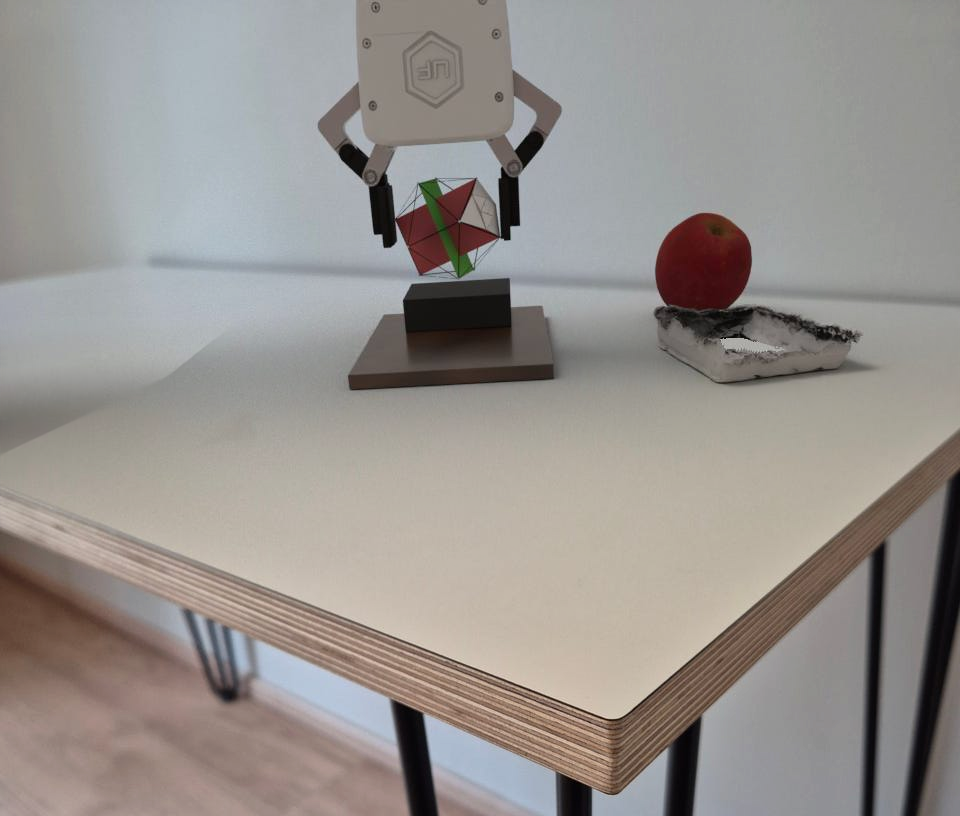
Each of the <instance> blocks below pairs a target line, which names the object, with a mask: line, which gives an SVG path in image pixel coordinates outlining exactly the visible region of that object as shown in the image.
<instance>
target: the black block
mask: <svg viewBox="0 0 960 816" xmlns="http://www.w3.org/2000/svg"><path fill="white" fill-rule="evenodd" d="M511 295H512V294H511V278H510V277H504V278H503V277H502V278H485V279H469V280H453V281H452V280H451V281H435V282H417V283H411V284H410V286H409V287H408V290H407V291H406V294H405V295H404V297H403V299H402V307H403V308H402V309H403V313H404V319H405V330H406V332H418V331H436V330H453V329H471V328H489V327H506V326H511V325H512V324H511V307H512V297H511Z"/></svg>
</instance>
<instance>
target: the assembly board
mask: <svg viewBox="0 0 960 816" xmlns="http://www.w3.org/2000/svg"><path fill="white" fill-rule="evenodd" d="M511 324H512V325H511V326H506V327H489V328H471V329H453V330H436V331H418V332H406V330H405V319H404V312H403V313H389V314H387V313H386V314H383V315H382V317H381V318H380V319H379V322H378V324H377V325H376V327H375V328H374V329H373V332H372V334H371V335H370V337H369V338H368V340H367V342H366V344H365V345H364V347H363V349H362V351H361V352H360V354H359V356H358V358H357V359H356V361H355V362H354V364H353V366H352V368H351V370H350V371H349V373H348V374H347V380H348V381H347V382H348V388H349V390H369V389H385V388H386V389H387V388H405V387H421V386H422V387H423V386H424V387H425V386H440V385H444V386H445V385H459V384H462V385H463V384H476V383H477V384H479V383H480V384H481V383H497V382H517V381H534V380H553V379H554V378H555V374H554V373H555V372H554V371H555V369H554V360H553V354H552V350H551V344H550V340H549V334H548V333H549V332H548V328H547V323H546V317H545V311H544V307H543V305H529V306H528V305H527V306H524V305H523V306H511Z"/></svg>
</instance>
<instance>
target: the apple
mask: <svg viewBox="0 0 960 816" xmlns="http://www.w3.org/2000/svg"><path fill="white" fill-rule="evenodd" d="M752 254H753V253H752V246H751V242H750V239H749V237H748V235H746V232H744V231H743V229H741V228H740V227H739V226H738V225H737V224H735V223H734V222H733V221H732V220H730V219H729V218H728V217H726V216H724V215H721V214H718V213H712V212H698V213H696V214H693V215H691V216H689V217H687V218H685V219H684V220H682V221H681V222H680V223H678V224H677V225H675V226H674V227H673V228H672V229H671V230H670V231H668V233H667V234H666V236H665V237H664V238H663V240H662V243H661V244H660V246H659V249H658V251H657V254H656V258H655V259H656V260H655V266H654V274H655V275H654V278H655V284H656V287H657V292H658V295H659V296H660V299H661V300H662V301H663V303H664V304H665V306H666V307H667V306H668V305H676V306H678V307H683V308H691V309H695V310H696V311H701V310H705V309H710V308H714V309H728V308H731V306H732V305H733V304H734V303H736V301H737V300H738V299H739V298H740V297H741V295H742V294H743V293H744V290H746V287H747V284H748V283H749V280H750V276H751V271H752V264H753V255H752Z"/></svg>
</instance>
